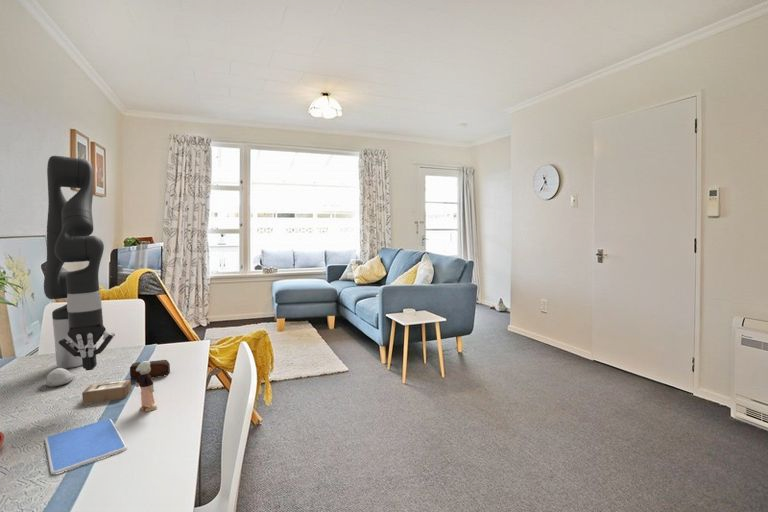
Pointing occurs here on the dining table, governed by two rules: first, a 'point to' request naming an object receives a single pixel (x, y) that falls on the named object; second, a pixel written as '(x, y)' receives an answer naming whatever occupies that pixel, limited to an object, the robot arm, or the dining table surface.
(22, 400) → the dining table surface
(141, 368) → the grandmother figurine
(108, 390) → the marked cardboard box
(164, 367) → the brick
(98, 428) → the tablet computer
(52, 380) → the white seashell
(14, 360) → the dining table surface
